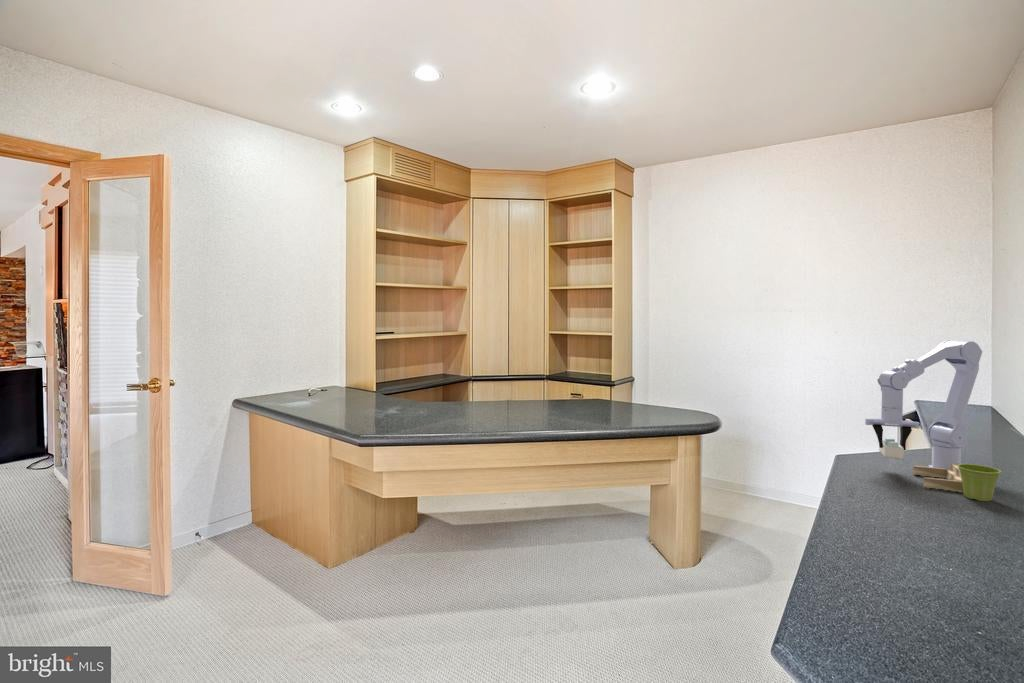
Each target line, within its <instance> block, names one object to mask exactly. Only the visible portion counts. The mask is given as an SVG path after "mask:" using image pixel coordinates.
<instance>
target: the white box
mask: <svg viewBox="0 0 1024 683" xmlns="http://www.w3.org/2000/svg"><path fill="white" fill-rule="evenodd" d="M882 441H883V448H880V447H879V448H878V449H879V452H880V453H881V455H882V456H883V458H885V459H895V460H904V453H905V452H904V450H905V447H904V448H903V447H902V446H901V445H900V442H898V441H896V438H891V437H885V438H884V440H883V439H882Z"/></svg>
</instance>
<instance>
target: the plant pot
mask: <svg viewBox="0 0 1024 683" xmlns="http://www.w3.org/2000/svg"><path fill="white" fill-rule="evenodd" d="M957 467H958V468H959V470H960V473H961V478H962V485H963V492H962V493H963V497H965V498H967V499H970V500H973V499H974V500H977V501H980V502H991V501H992V500H993V497H994V494H995V487H996V484H997V480H998V478H999V476H1000V474H1001V473H1002V471H1001V469H998V468H995V467H992V466H986V465H982V464H971V463H960V464H959V465H957Z"/></svg>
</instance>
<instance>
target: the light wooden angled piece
mask: <svg viewBox="0 0 1024 683" xmlns="http://www.w3.org/2000/svg"><path fill="white" fill-rule="evenodd" d="M957 465H959V464H956V463H950V469H945V468H935V467H928V466H922V465H913V466H912V467H913V468H912V469H913V472H912V475H913V476H915V475H922V476H921V477H923V486H924V487H927V488H926V489H929V488H936V489H935V490H938V489H944V490H943V491H947V490H951V491H950V492H956V491H958V493H963V485H962V478H961V473H960V470H959V468H958V467H957ZM925 476H932V477H925ZM934 477H943V478H934ZM944 478H947V479H948V480H947V479H944ZM924 487H923V488H924Z"/></svg>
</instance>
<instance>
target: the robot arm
mask: <svg viewBox="0 0 1024 683" xmlns="http://www.w3.org/2000/svg"><path fill="white" fill-rule="evenodd" d="M982 354H983V350H982V349H981V347H980V345H979V344H978V343H977V342H975V341H972V340H971V341H969V340H968V341H960V340H949V339H948V340H944V341H942V342H941V343H938V344H937V346H936V347H935V348H933V349H932V350H931V351H929V352H927V353H926V354H924V355H923V356H920V357H919V358H918V359H913V358H910V359H909V358H908V359H905V360H904V363H901V364H900V365H898V366H894V367H893V368H891V370H884V371H883V372H882V373H881V374H879V376H878V378H877V379H876V380H877V383H878V385H879V386H880V387H879V388H880V392H881V412H880V413H881V418H865V420H864V421H865V422H864V423H865V424H864V425H866V426H872V428H873V430H874V432H875V435H876V437H877V441H878V446H879V447H880V448H883V441H882V440H883V434H884V432H883V431H884V428H883V427H895V428H897V427H898V428H899V432H900V433H899V434H900V440H899V444H900V445H901V446H902V447H903V448H904V449H905V445H906V442H907V440H908V438H909V436H910V435H911V433H912V430H913V429H917V430H919V429H920V422H919V421H913V420H910V421H909V420H903V410H904V409H903V405H904V389H906V388H907V387H908V384H909V383H910V382H911V381H913V380H914V379H916V378H919V377H920V376H921V375H923V374H924V373H925V369H927V368H929V367H931V366H933V365H936V364H937V363H940V362H941V361H943V360H944V361H946V362H947V363H949V365H951V366H952V367H953V368H954V369H955V374H954V377H953V379H952V383H951V386H950V389H949V392H948V396H947V398H946V401H945V404H944V407H943V411H942V414H940V415H939V416H937V417H935V418H933V422H932V423H931V424H930V425H929V426H928V428H927V431H926V432H927V437H928V438H929V439H930V440H931V444H932V448H931V464H928V465H927V467H928V466H929V467H935V468H945V469H950V463H956V464H961V463H962V462H961V459H962V458H961V455H962V454H961V452H962V448H964V446H965V445H966V444H967V442H968V439H969V438H968V436H969V435H968V430H969V426H968V425H967V424H966V422H965V421H964V420H963V419H964V416H965V414H966V412H967V407H968V404H969V401H970V398H971V395H972V391H973V389H974V386H975V382H976V380H977V377H978V373H979V370H980V361H981V357H982Z"/></svg>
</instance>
